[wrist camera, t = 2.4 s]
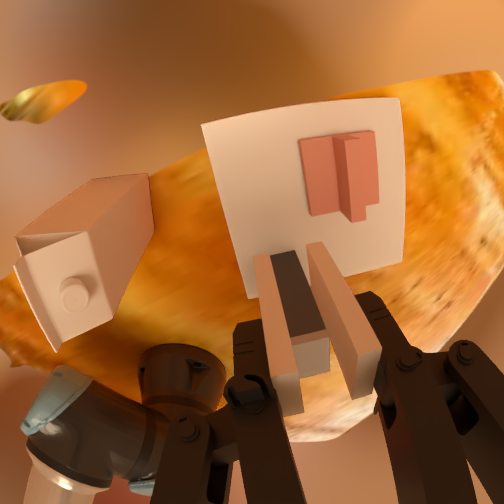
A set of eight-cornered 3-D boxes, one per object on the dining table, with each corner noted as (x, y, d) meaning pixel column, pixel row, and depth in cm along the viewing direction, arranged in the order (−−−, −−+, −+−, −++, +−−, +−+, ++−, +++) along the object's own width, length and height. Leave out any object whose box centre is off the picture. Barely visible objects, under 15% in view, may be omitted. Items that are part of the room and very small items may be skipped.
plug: (261, 291, 32) (276, 383, 21) (253, 258, 30) (267, 350, 19) (299, 282, 32) (329, 371, 21) (294, 249, 30) (329, 336, 19)
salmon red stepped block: (309, 213, 28) (320, 229, 24) (297, 139, 24) (309, 145, 20) (375, 199, 27) (393, 214, 24) (370, 130, 24) (390, 135, 20)
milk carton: (102, 233, 31) (23, 346, 14) (92, 178, 28) (-18, 265, 11) (155, 231, 31) (97, 359, 15) (148, 172, 28) (56, 265, 12)
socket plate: (246, 282, 36) (248, 299, 33) (204, 122, 26) (200, 124, 23) (389, 248, 35) (402, 261, 32) (383, 97, 25) (399, 97, 22)
